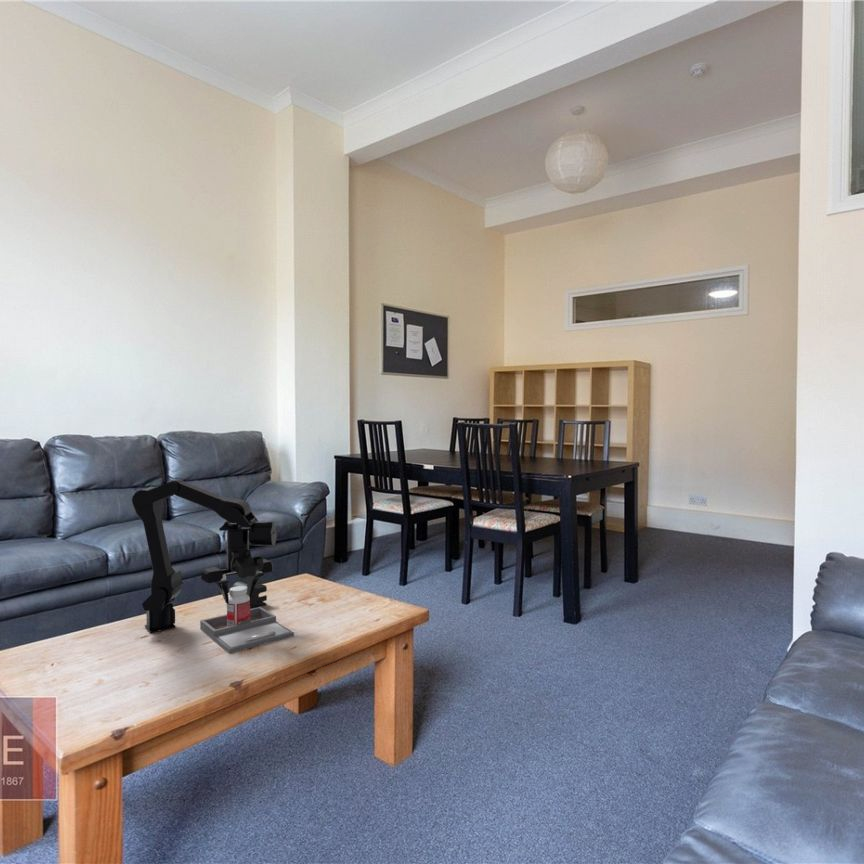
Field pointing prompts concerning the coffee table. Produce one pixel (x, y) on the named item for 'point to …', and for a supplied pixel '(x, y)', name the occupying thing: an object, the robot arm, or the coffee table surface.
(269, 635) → the stay rod
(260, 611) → the case
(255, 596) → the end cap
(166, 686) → the coffee table surface
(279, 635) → the case lid
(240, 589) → the pill bottle
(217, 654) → the coffee table surface
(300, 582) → the coffee table surface
